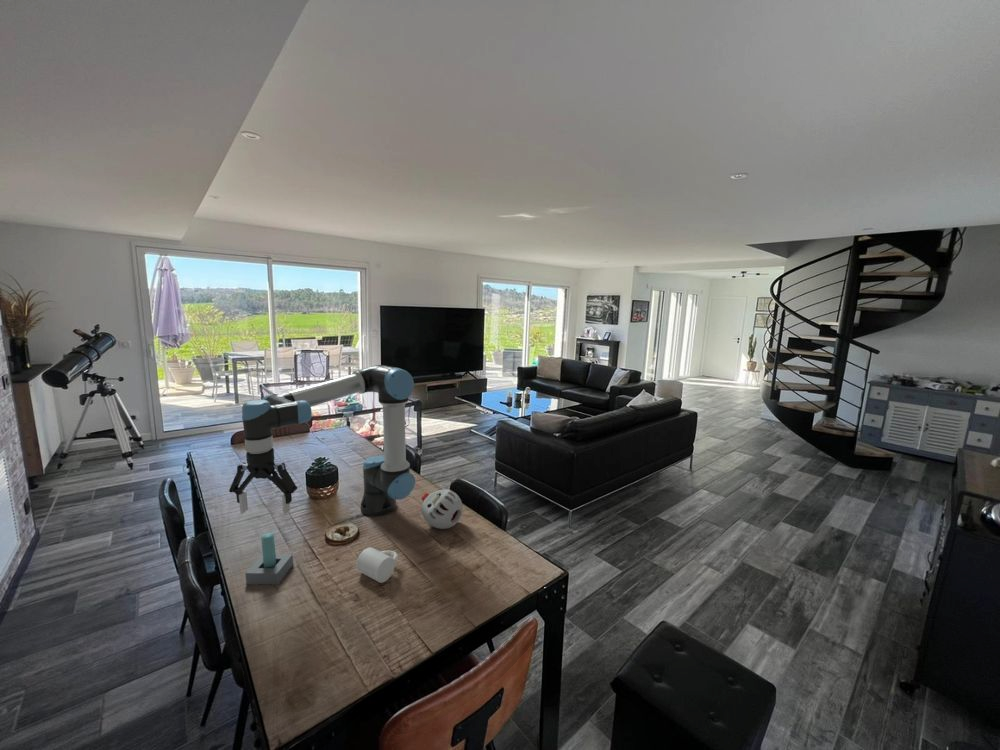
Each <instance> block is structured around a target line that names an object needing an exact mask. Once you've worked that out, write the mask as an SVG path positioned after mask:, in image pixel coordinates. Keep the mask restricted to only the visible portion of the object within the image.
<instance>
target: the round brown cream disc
mask: <svg viewBox="0 0 1000 750" xmlns="http://www.w3.org/2000/svg"><path fill="white" fill-rule="evenodd" d="M359 528H360V527H358V525H357V524H355V523H352V522H344V523H340V524H336V525H332V526H331V527H329V528H327V530H326V531H325V533H324V540H326V541H325V542H326V544H329V545H335V546H336V545H345V544H347V543H350V542H351V541H353V540H355V539H356V538H358V536H359V534H360V529H359Z"/></svg>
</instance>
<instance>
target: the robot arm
mask: <svg viewBox="0 0 1000 750" xmlns="http://www.w3.org/2000/svg"><path fill="white" fill-rule="evenodd" d="M414 381H415V380H414V378H413V376H412V375H411V373H409V372H408V371H407V370H405V369H402V368H400V367H395V366H389V365H386V364H385V365H384V364H376V365H372V366H368V367H364V368H361V369H358V370H357V369H356V370H354V371H353V372H352V373H351V374H348V375H346V376H342V377H338V378H335V379H330V380H328V381H324V382H320V383H316V384H312V385H309V386H304V387H302V388H299V389H295V390H291V391H288V392H284V393H279V394H278V393H269V394H266V395H265V396H263V397H262V399H259V400H258V399H255V400H254V399H253V400H249V401H245V402H244V403H243V405H242V407H241V420H242V425H243V426H242V427H243V435H244V447H245V451H246V453H245V456H246V457H245V458H246V462H244V461H243V462H241V463H240V464H238V465H237V466H236V473H235V476H234V478H233V480H232V483H231V485H230V487H229V489H228V491H229V492H230V493H234V494H235V495H236V503H237V504H239V511H240V512H239V513H240V514H241V515H243V514H244V513H246V512H247V511H248V510H249V506H248V495H247V490H245V489H246V488H247V487H248V486H249V484H250V482H251V481H252V480H253V479H254V478H255V479H259V480H260V479H264V480H265V479H267V480H268V481H271V482H272V483H273V484H274V485H275V486H276V488H278V489H279V490H280V492H282V493H283V494H282V495H281V499H282V500H281V501H282V511H283V515H287V514H288V513H289V512H290V511H291V506H290V504H291V502H292V501H293V499H292V498H293V497H292V494H293V493H294V492H296V490H298V486H297V485H296V483H295V481H294V480H293V479H292V478H293V477H291V475H290V474H289V472H288V470H287V468H286V464H285V463H284V462H281V463H279V464H276V462H275V449H274V448H273V447H274V437H273V429H281V428H284V427H285V428H286V427H291V426H294V425H301V424H303V423H308V422H310V421H311V419H312V414H313V412H312V408H311V407H315V406H318V405H321V404H325V403H328V402H331V401H334V400H337V399H341V398H345V397H347V396H350V395H354V394H360V395H362V394H365V393H377V394H378V398H377V399H378V403H379V404H380V405H381V406H382V422H383V423H382V425H383V427H382V428H383V429H382V430H383V431H382V432H383V455H377V456H372V457H368V458H366V459H364V461H363V464H362V471H363V495H362V499H361V502H360V513H362V514H363V515H366V516H371V517H376V516H377V517H378V516H384V515H387V514H389V513H392V512H393V511H394V510H395V509H396V507H397V500H399V501H400V500H403V499H406V498H407V497H408V496H409V495H410V494H412V493H411V492H413V491H414V489H415V486H416V477H415V476H414V474H413V473H411V468H410V467H411V464H410V462H409V461H408V460H407V458H406V457H407V454H406V453H407V451H406V406H405V405H406V404H407V403H408V402H409V397H410V396H412V393H413V392H414V388H415V382H414ZM246 471H248V472H249V474H248V475H247V477H246V478H245V479H244V481H243V482H242V479H243V477H244V474H245V472H246ZM241 482H242V483H241Z"/></svg>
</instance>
